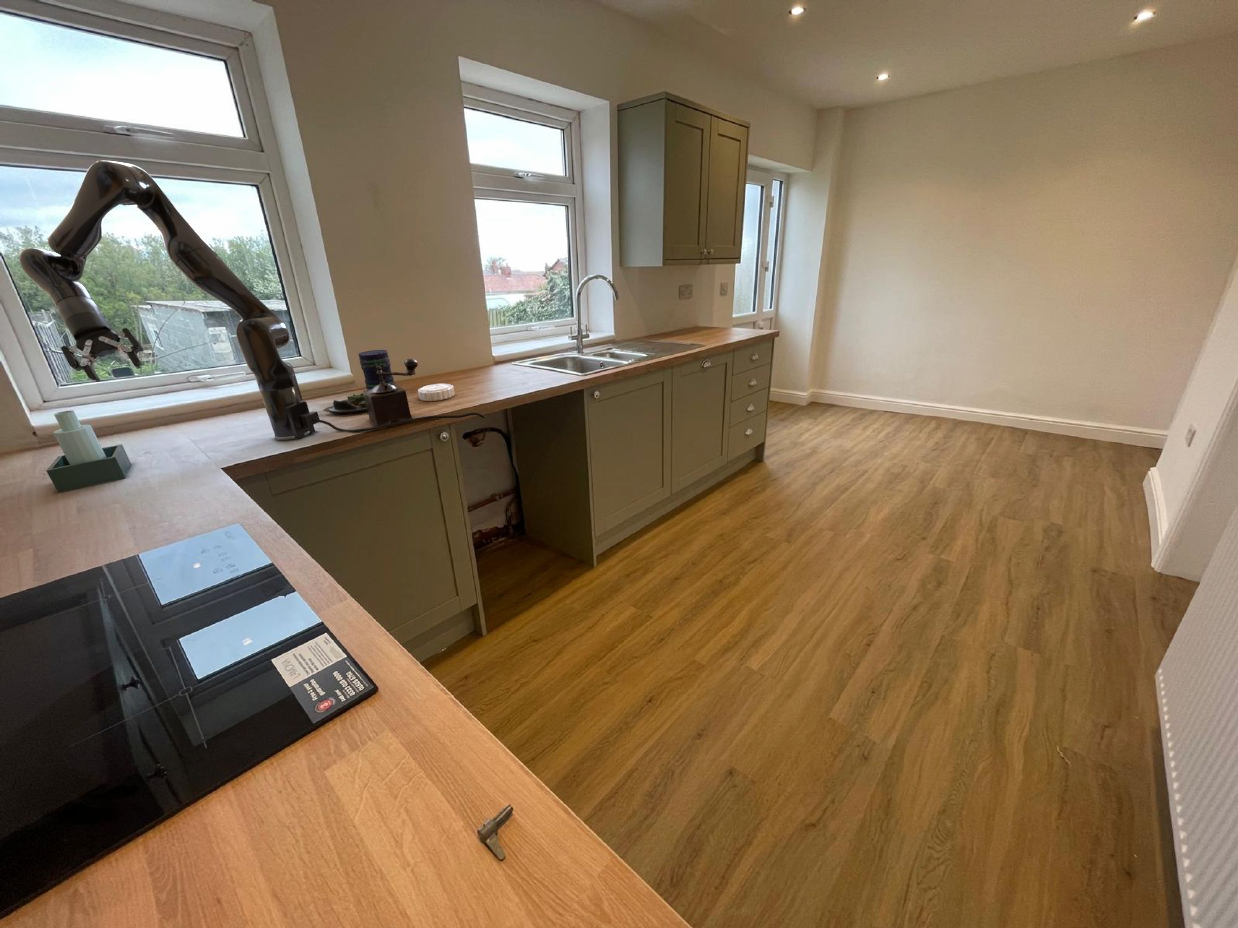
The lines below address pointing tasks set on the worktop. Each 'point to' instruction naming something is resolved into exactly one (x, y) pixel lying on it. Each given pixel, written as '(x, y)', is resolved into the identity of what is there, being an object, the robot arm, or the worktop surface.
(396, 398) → the manual coffee grinder
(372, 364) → the storage jar
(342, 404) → the salad plate
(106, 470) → the dark green open box
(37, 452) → the worktop surface
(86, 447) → the bottle
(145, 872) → the worktop surface
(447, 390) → the mooncake
